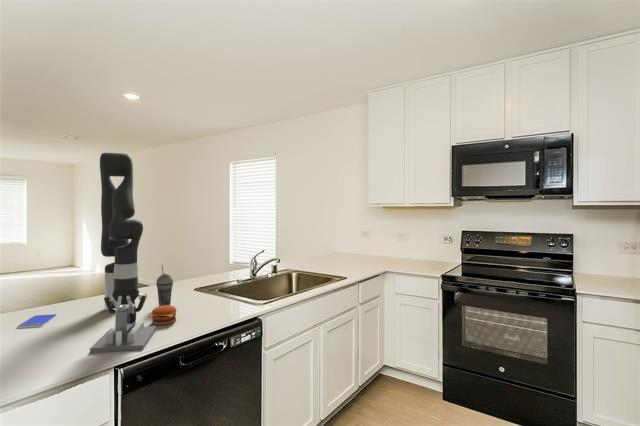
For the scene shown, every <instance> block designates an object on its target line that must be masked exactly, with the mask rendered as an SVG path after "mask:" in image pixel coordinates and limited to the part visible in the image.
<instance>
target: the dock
mask: <svg viewBox="0 0 640 426" xmlns="http://www.w3.org/2000/svg"><path fill="white" fill-rule="evenodd" d="M144 323H145V321H136V325H135V326H134V327H133V328H132V329H131V330H130V332H129V333H128V334H127V335H122V331H116V336H115V326H114V327H113V328H109V330H108V331H107V332H106V333H104V334H103V335H102V336H101V337H100V338H99V339H98V340H97V341H96V342H95V343H94V344H93V345H92V346H91V347H90V348H89V353H90V354H96V353H97V354H98V353H111V352H112V353H113V352H126V351H140V350H142V351H143V350H144V349H145V348H146V346H147V344H148V343H149V342H150V340H151V338H152V337H153V336H154V334H155V333H156V331H157V325H152V326H151V325H150V326H145V325H144Z"/></svg>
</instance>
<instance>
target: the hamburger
mask: <svg viewBox="0 0 640 426" xmlns="http://www.w3.org/2000/svg"><path fill="white" fill-rule="evenodd" d="M178 311H179V309H177V308H176V307H175V306H173V305H170V306H169V305H163V306H159V305H158V306H157V307H154V308H153V309H152V311H151V314H150V315H149V318H152V320H151V324H152V326H156V327H157V326H159V327H161V326H163V327H164V326H169V325H172V324H174V323H175V322H176V321H177V318H176V316H177V312H178Z"/></svg>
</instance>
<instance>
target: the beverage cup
mask: <svg viewBox="0 0 640 426" xmlns="http://www.w3.org/2000/svg"><path fill="white" fill-rule="evenodd" d="M161 272H162V274H160V276H159V277H157V279H156V283H155V285H156V288H157V299H158V301H157V302H158V307H159V306H163V305H169V306H171V299H172V292H173V291H172V290H173V286H174V280H173V277H172V276H171V275H170V274H168V273H164V265H162V264H161Z"/></svg>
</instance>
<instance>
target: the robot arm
mask: <svg viewBox="0 0 640 426" xmlns="http://www.w3.org/2000/svg"><path fill="white" fill-rule="evenodd" d="M133 165H134V164H133V159H132V156H131V155H130V154H129V153H122V152H121V153H120V152H103V153H101V155H100V157H99V173H100V185H101V197H100V198H101V199H100V200H101V202H100V205H101V206H100V212H101V213H100V214H101V215H100V216H101V236H100V237H101V239H100V252H101V255H102V257H106V258H108V257H109V258H111V257H114V262H112V263H108V264H106V265H105V266H104V299H103V300H104V311H105V312H106V311H107V312H109V313H110V314H115V312H116V311H117V310H119V309H120V308H121V307H122V306H123V305H124V304H127V305H129V308H130V311H131V314H130V324H133V323H134V322H135V321H136V322H137V313H138V312H140V311H141V310H142V309H143V307H144V304H145V303H146V299H147V298H148V295H147V293H144V294H143V293H140V290H139V267H138V249H139V246H140V241H141V238H142V235H143V231H144V225H143V223H142V221H141V220H140V219H135V218H134V219H133V217H134V216H135V214H136V213H135V212H136V211H135V204H134V195H133V190H134V189H133V188H134V167H133ZM111 177H119V178H121V177H122V178H123V179H122V181H121V183H120V184H119V185H118V186H117V187H116V186H115V184H114V183H113V181H112V179H111ZM137 298H138V300H139V302H138V305H137V306H136V304H137V303H136V299H137Z"/></svg>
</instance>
